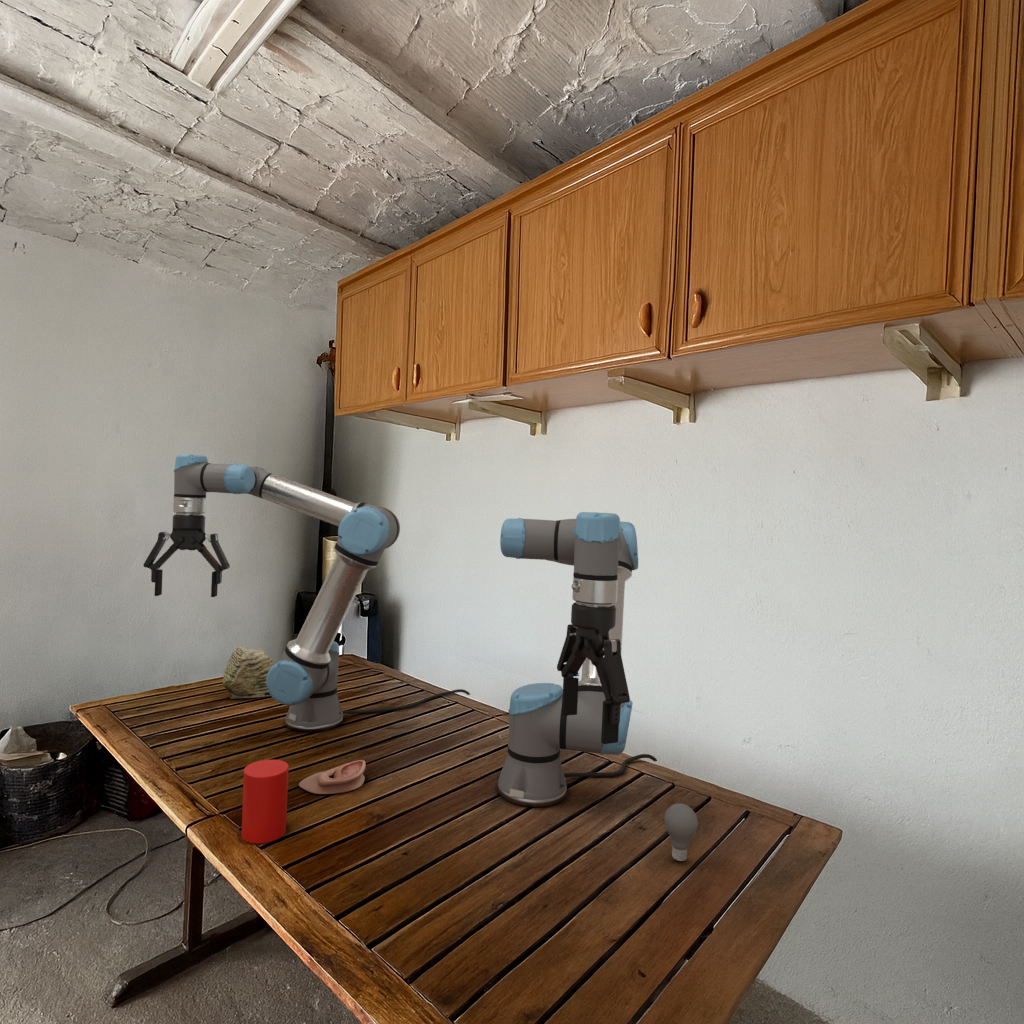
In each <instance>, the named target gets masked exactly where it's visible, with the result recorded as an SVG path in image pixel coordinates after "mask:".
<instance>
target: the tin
mask: <svg viewBox="0 0 1024 1024" xmlns="http://www.w3.org/2000/svg"><path fill="white" fill-rule="evenodd" d="M289 767H290V766H289V764H288V762H286V761H284V760H281V759H262V760H258V761H255V762H252V763H250V764H248V765H246V766H245V767H244V769H243V783H242V786H243V787H242V806H241V807H242V810H241V811H242V813H241V839H242V840H243V841H244V842H247V843H249V844H256V845H257V844H267V843H271V842H274V841H276V840H279V839H280V838H281V837H283V836H284V835H285V833H286V832H287V820H288V819H287V818H288V797H289V795H288V794H289V793H288V792H289V791H288V790H289V770H290V769H289Z"/></svg>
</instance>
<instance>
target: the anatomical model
mask: <svg viewBox="0 0 1024 1024" xmlns="http://www.w3.org/2000/svg"><path fill="white" fill-rule="evenodd" d="M366 766H367V764H366V761H365V760H364V759H359V760H353V761H350V762H347V763H344V764H341V765H338V766H336V767H332V768H330V769H326V770H324V771H319V772H316V773H314V774H312V775H309V776H307V777H305V778H303V779H302V780H300V781H299V783H298V787H299V788H301V789H303V790H304V791H306V792H309V793H311V794H314V795H330V794H331V795H332V794H340V793H346V792H350V791H353V790H356V789H359V788H360V787H362V786H363V784H364V783H365V779H366V777H365V775H364V772H365V770H366Z"/></svg>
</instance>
